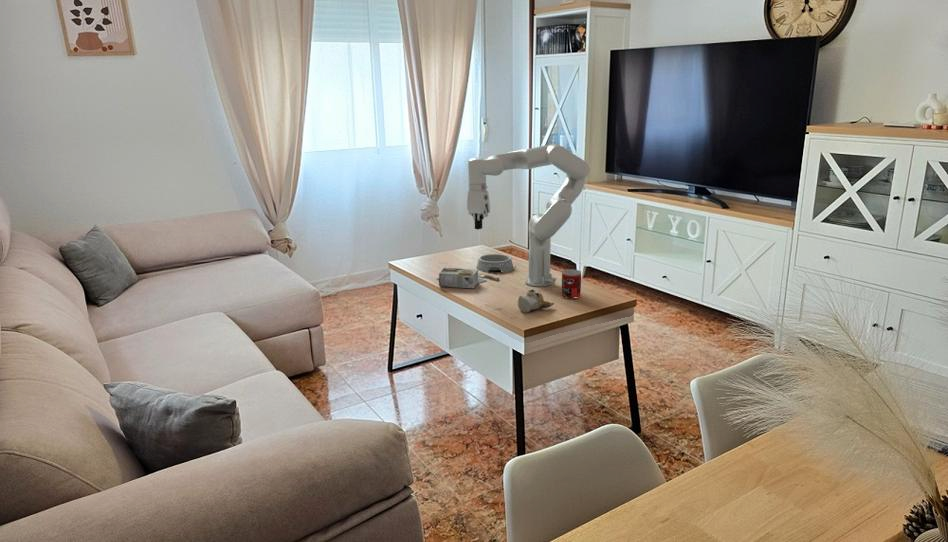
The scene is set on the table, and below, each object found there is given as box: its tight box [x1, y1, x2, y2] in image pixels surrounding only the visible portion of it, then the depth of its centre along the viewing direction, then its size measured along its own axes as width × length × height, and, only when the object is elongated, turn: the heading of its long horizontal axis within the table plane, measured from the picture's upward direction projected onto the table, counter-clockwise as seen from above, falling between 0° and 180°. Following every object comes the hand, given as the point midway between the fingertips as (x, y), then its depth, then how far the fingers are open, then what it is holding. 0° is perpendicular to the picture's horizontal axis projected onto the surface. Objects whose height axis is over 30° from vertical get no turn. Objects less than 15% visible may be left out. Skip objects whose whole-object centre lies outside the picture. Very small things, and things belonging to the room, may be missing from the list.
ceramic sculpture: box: [517, 289, 555, 313], centre depth 247 cm, size 11×9×15 cm
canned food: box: [561, 268, 582, 298], centre depth 261 cm, size 8×8×11 cm
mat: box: [436, 277, 487, 285], centre depth 287 cm, size 19×14×1 cm
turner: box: [478, 271, 500, 282], centre depth 291 cm, size 15×4×1 cm, turn 46°
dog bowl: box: [476, 253, 514, 273], centre depth 306 cm, size 17×18×5 cm
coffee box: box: [438, 267, 479, 289], centre depth 279 cm, size 9×6×16 cm
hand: (478, 228), depth 272 cm, fingers closed
